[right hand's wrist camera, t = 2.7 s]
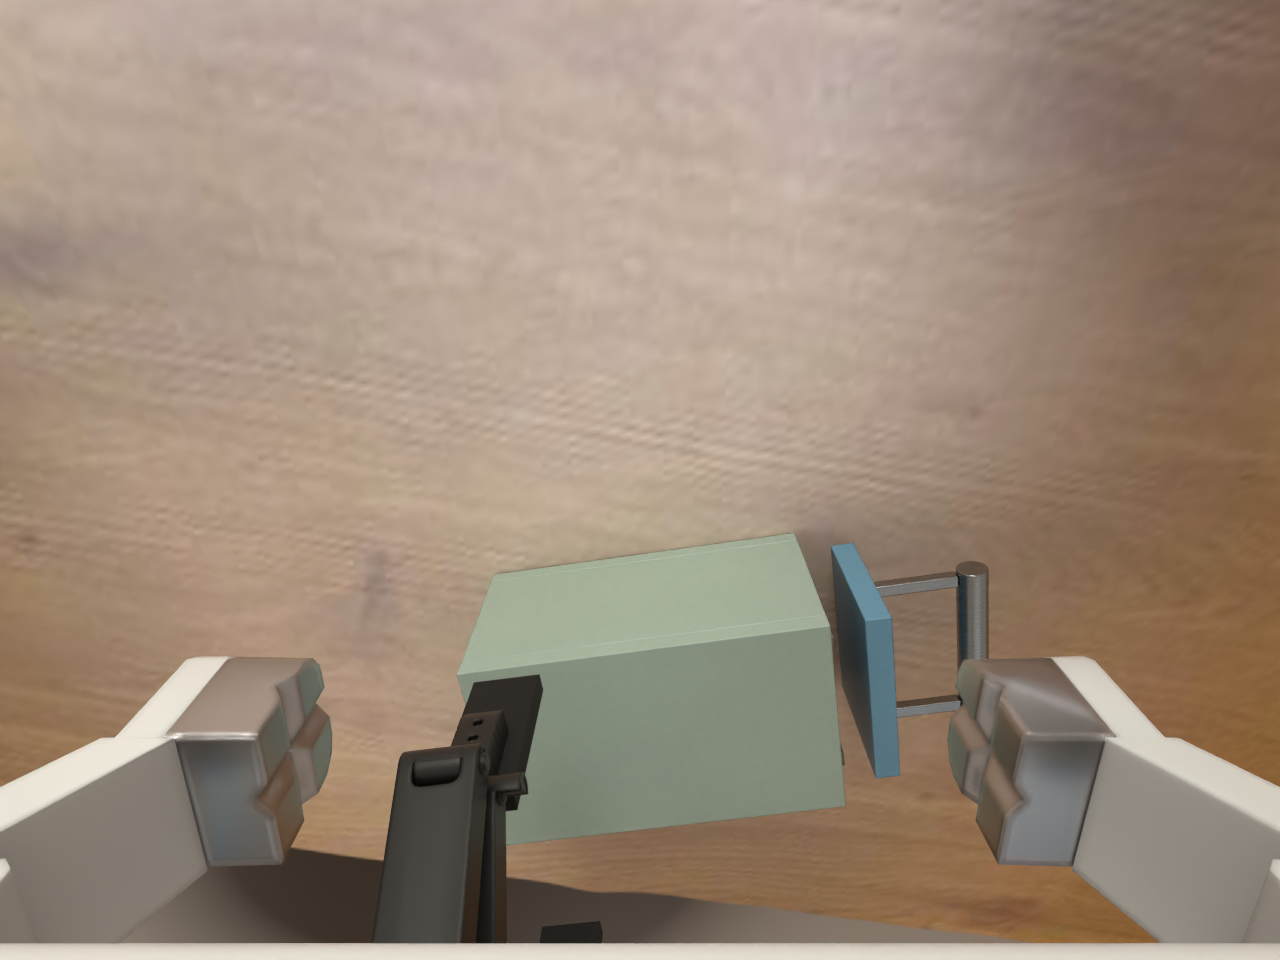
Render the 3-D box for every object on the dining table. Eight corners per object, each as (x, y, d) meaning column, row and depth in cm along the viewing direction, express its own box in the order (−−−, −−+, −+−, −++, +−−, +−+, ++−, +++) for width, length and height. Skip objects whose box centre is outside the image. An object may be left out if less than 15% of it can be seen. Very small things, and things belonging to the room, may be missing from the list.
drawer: (960, 527, 43) (1020, 600, 36) (963, 670, 46) (1018, 762, 39) (565, 581, 44) (550, 661, 38) (595, 716, 48) (586, 812, 41)
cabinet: (794, 532, 44) (830, 625, 36) (810, 687, 48) (845, 806, 39) (493, 573, 45) (456, 674, 37) (531, 722, 49) (506, 845, 40)
